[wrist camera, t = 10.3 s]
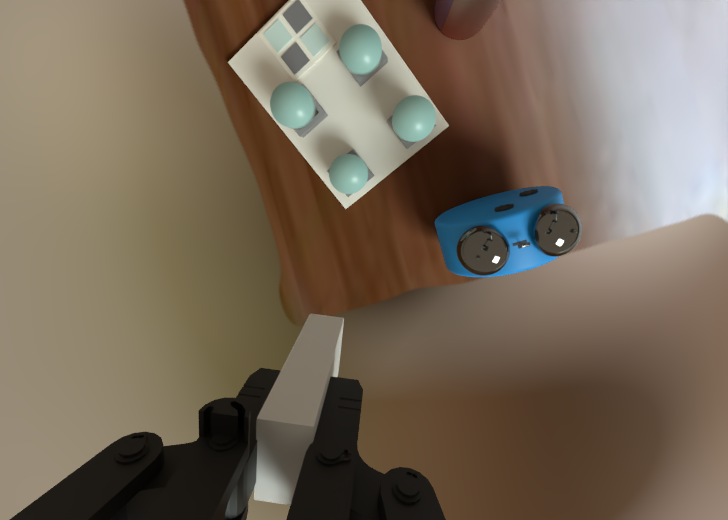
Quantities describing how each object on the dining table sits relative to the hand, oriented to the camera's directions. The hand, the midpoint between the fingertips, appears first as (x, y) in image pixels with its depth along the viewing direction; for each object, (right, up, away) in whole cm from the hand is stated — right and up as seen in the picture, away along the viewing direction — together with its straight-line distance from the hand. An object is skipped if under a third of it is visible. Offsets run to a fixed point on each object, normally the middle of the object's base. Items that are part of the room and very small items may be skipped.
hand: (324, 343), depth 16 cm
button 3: (+7, +19, +24) cm, 32 cm away
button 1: (+2, +27, +25) cm, 36 cm away
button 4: (0, +15, +28) cm, 32 cm away
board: (-1, +23, +27) cm, 36 cm away
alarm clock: (+17, +9, +30) cm, 36 cm away
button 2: (-5, +21, +25) cm, 33 cm away
